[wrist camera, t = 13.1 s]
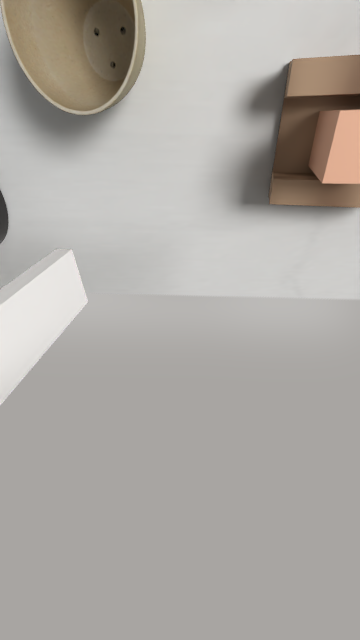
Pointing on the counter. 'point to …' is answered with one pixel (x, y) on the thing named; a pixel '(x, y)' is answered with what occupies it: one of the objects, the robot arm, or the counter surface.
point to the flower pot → (78, 49)
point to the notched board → (312, 130)
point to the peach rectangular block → (337, 147)
